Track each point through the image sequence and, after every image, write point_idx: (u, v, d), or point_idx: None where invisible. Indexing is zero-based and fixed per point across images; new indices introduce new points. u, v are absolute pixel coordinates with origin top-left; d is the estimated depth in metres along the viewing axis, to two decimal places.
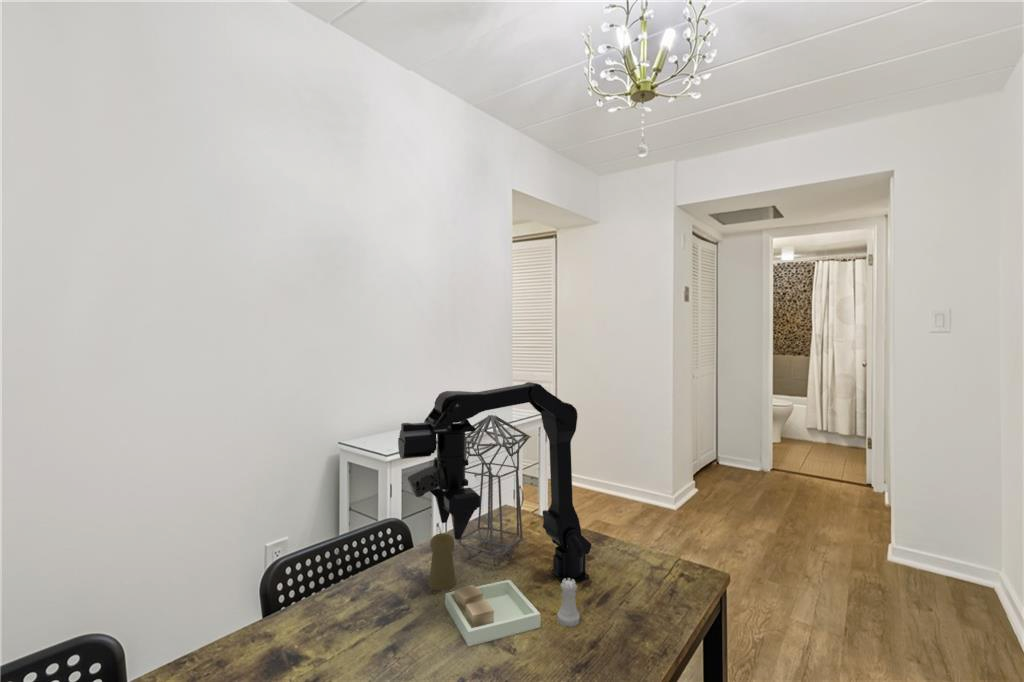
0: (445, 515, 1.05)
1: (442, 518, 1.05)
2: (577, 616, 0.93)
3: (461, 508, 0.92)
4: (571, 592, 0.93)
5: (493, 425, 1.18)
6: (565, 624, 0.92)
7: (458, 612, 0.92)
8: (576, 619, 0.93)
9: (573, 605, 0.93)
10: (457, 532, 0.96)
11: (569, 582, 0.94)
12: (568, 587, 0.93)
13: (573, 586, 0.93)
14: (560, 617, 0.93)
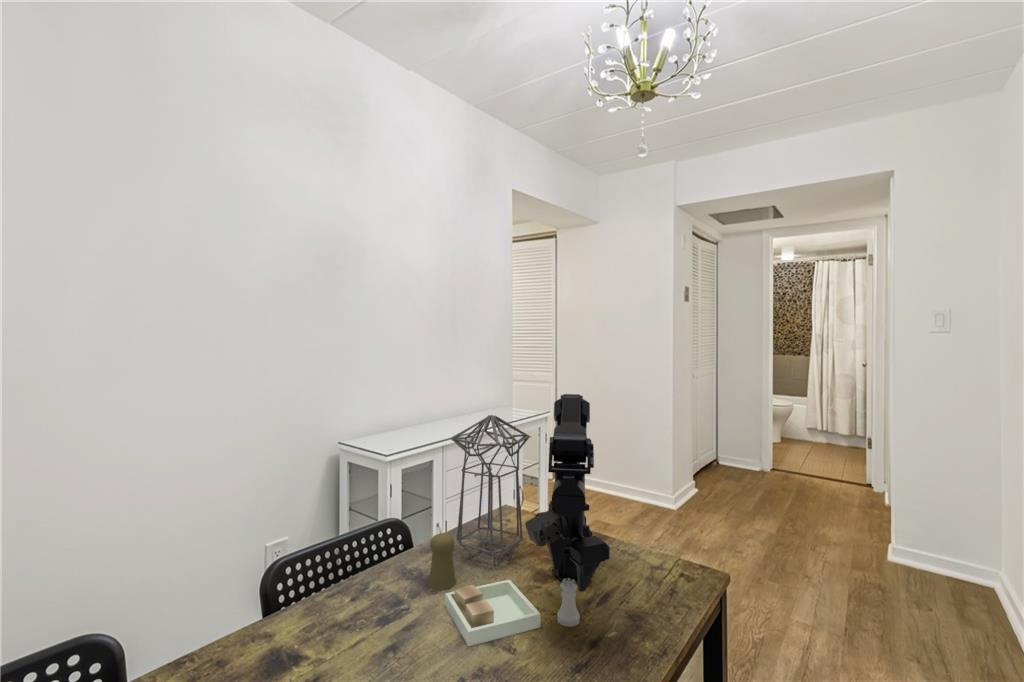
0: (558, 561, 0.98)
1: (555, 564, 0.98)
2: (577, 616, 0.93)
3: (592, 561, 0.85)
4: (571, 592, 0.93)
5: (493, 425, 1.18)
6: (565, 624, 0.92)
7: (458, 612, 0.92)
8: (576, 619, 0.93)
9: (573, 605, 0.93)
10: (582, 584, 0.89)
11: (569, 582, 0.94)
12: (568, 587, 0.93)
13: (573, 586, 0.93)
14: (560, 617, 0.93)
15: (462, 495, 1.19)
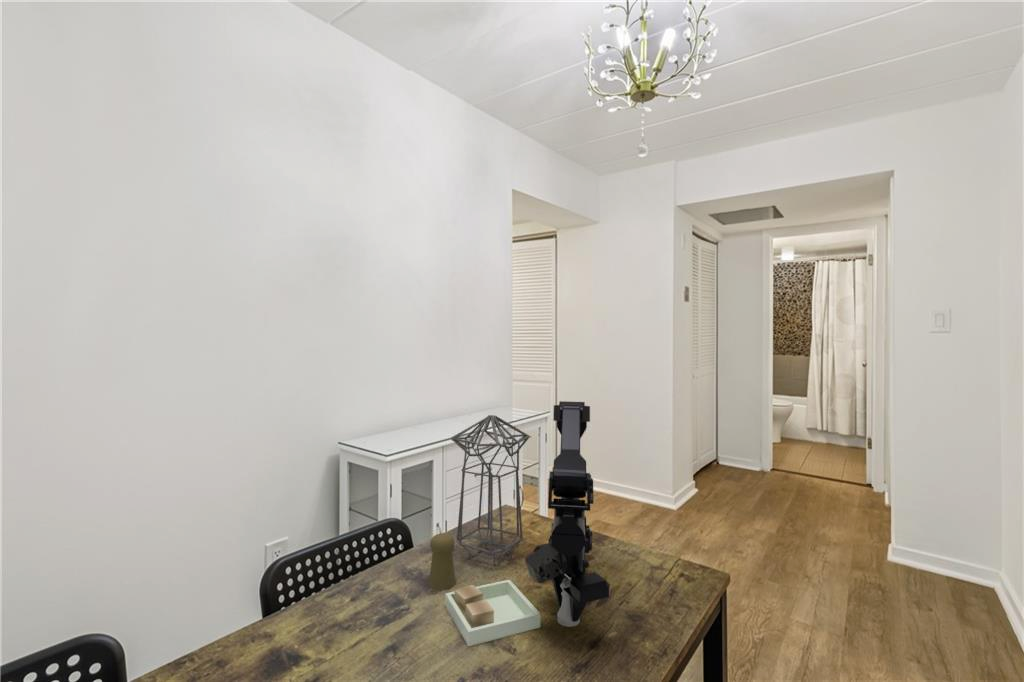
0: None
1: (560, 604, 0.96)
2: None
3: (592, 599, 0.85)
4: None
5: (493, 425, 1.18)
6: (565, 624, 0.92)
7: (458, 612, 0.92)
8: None
9: None
10: (575, 614, 0.91)
11: (569, 582, 0.94)
12: None
13: None
14: (560, 617, 0.93)
15: (462, 495, 1.19)
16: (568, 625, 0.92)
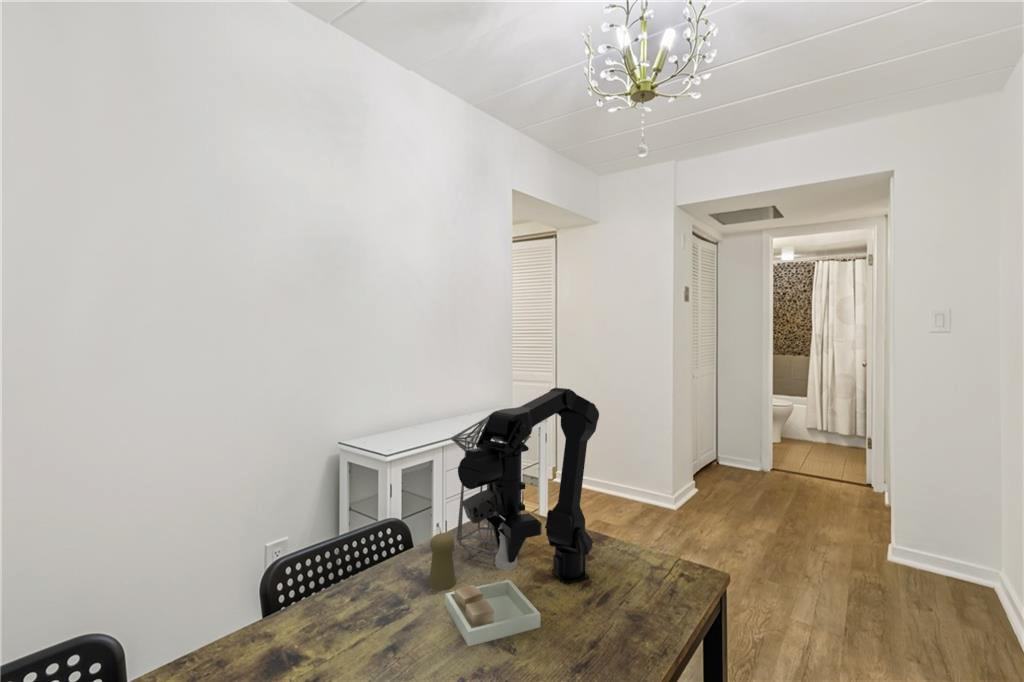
0: None
1: None
2: None
3: (523, 536, 0.87)
4: None
5: None
6: (502, 565, 0.95)
7: (458, 612, 0.92)
8: None
9: None
10: (511, 555, 0.93)
11: None
12: None
13: None
14: (497, 559, 0.95)
15: (462, 495, 1.19)
16: (504, 566, 0.94)
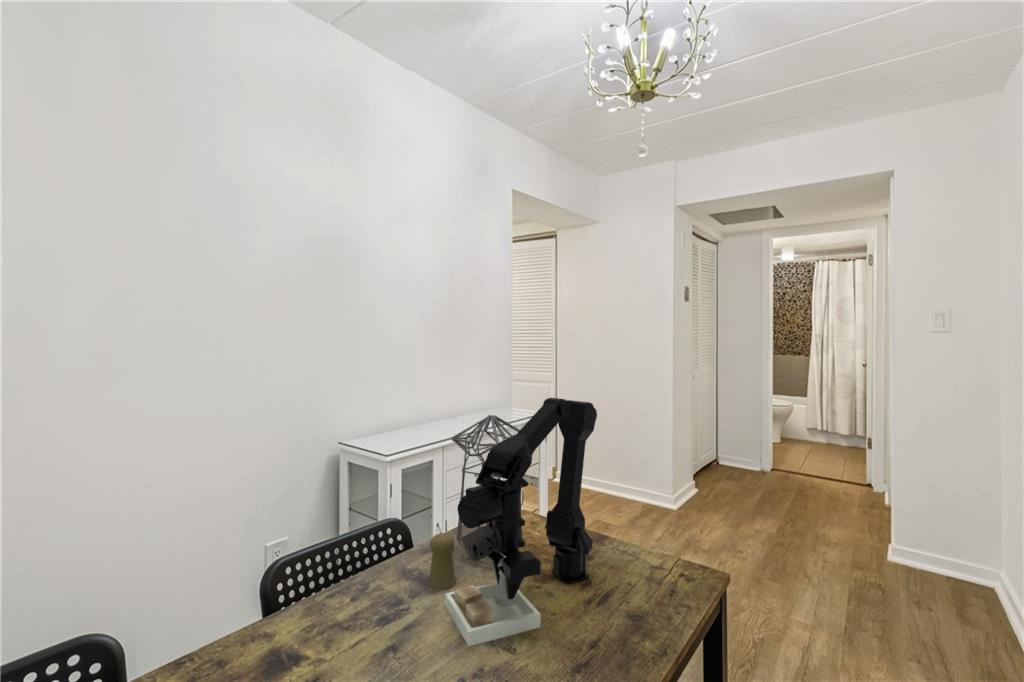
0: None
1: None
2: None
3: (522, 576, 0.87)
4: None
5: (493, 425, 1.18)
6: (501, 602, 0.95)
7: (458, 612, 0.92)
8: None
9: None
10: (511, 592, 0.94)
11: None
12: None
13: None
14: (497, 595, 0.95)
15: (462, 495, 1.19)
16: (504, 603, 0.94)
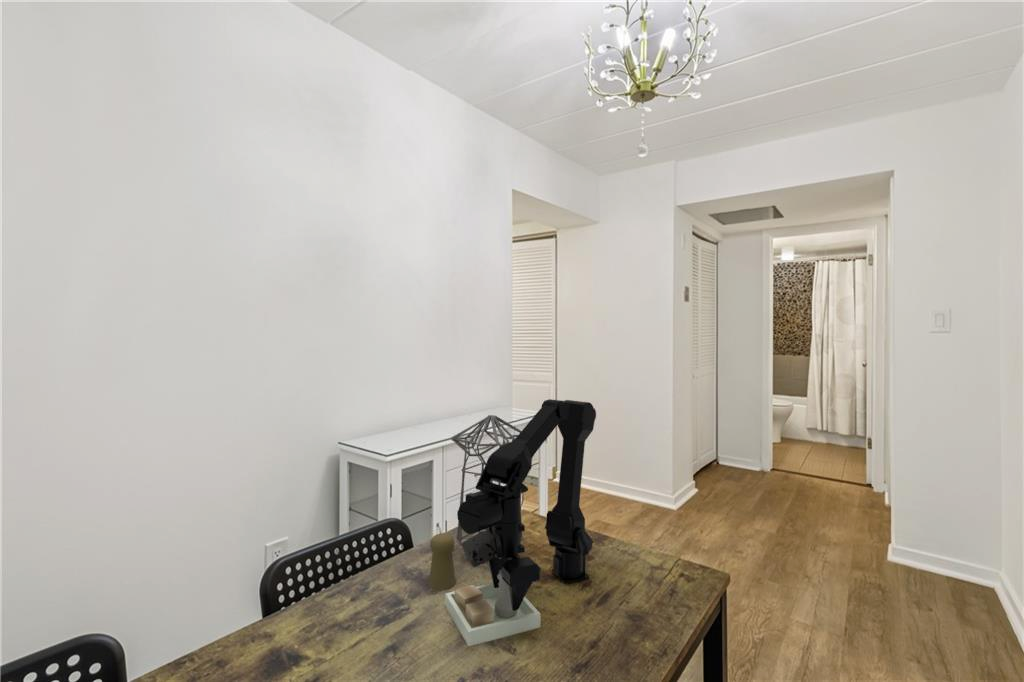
0: (498, 580, 1.00)
1: (495, 583, 1.00)
2: None
3: (522, 582, 0.87)
4: None
5: (493, 425, 1.18)
6: (501, 613, 0.95)
7: (458, 612, 0.92)
8: None
9: (509, 595, 0.95)
10: (515, 603, 0.92)
11: None
12: None
13: None
14: (496, 606, 0.95)
15: (462, 495, 1.19)
16: (504, 614, 0.94)
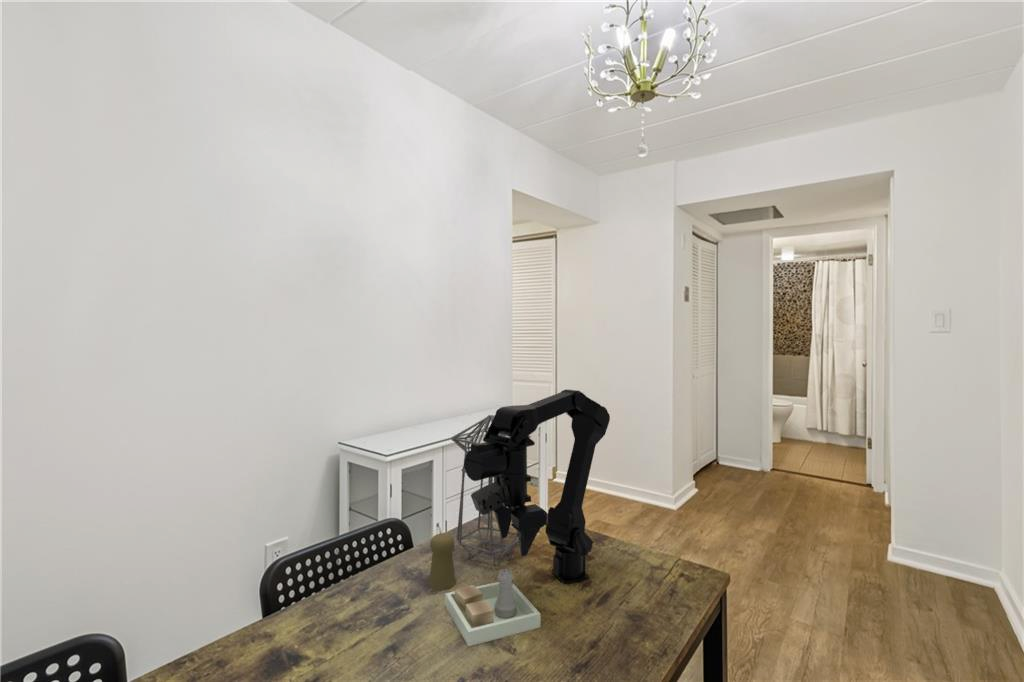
0: (505, 530, 1.05)
1: (502, 533, 1.04)
2: (513, 605, 0.95)
3: (530, 526, 0.92)
4: (507, 582, 0.95)
5: None
6: (501, 613, 0.95)
7: (458, 612, 0.92)
8: (512, 608, 0.95)
9: (509, 595, 0.95)
10: (523, 549, 0.96)
11: (506, 572, 0.96)
12: (504, 577, 0.95)
13: (509, 576, 0.95)
14: (496, 606, 0.95)
15: (462, 495, 1.19)
16: (504, 614, 0.94)
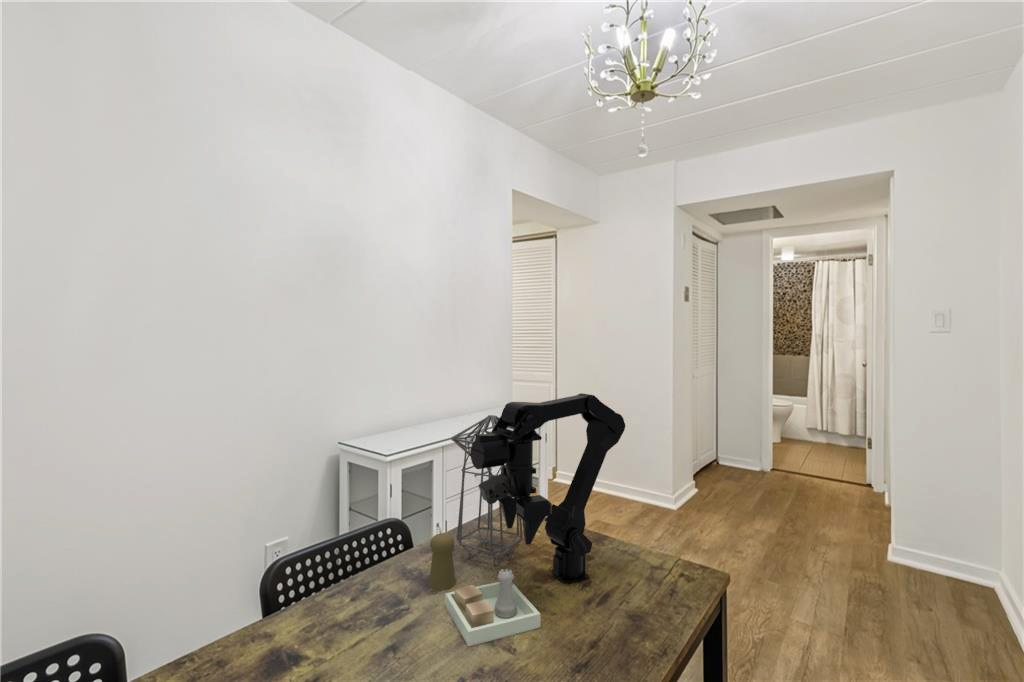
0: (510, 521, 1.09)
1: (508, 524, 1.09)
2: (513, 605, 0.95)
3: (535, 515, 0.96)
4: (507, 582, 0.95)
5: (493, 425, 1.18)
6: (501, 613, 0.95)
7: (458, 612, 0.92)
8: (512, 608, 0.95)
9: (509, 595, 0.95)
10: (528, 538, 1.00)
11: (506, 572, 0.96)
12: (504, 577, 0.95)
13: (509, 576, 0.95)
14: (496, 606, 0.95)
15: (462, 495, 1.19)
16: (504, 614, 0.94)
